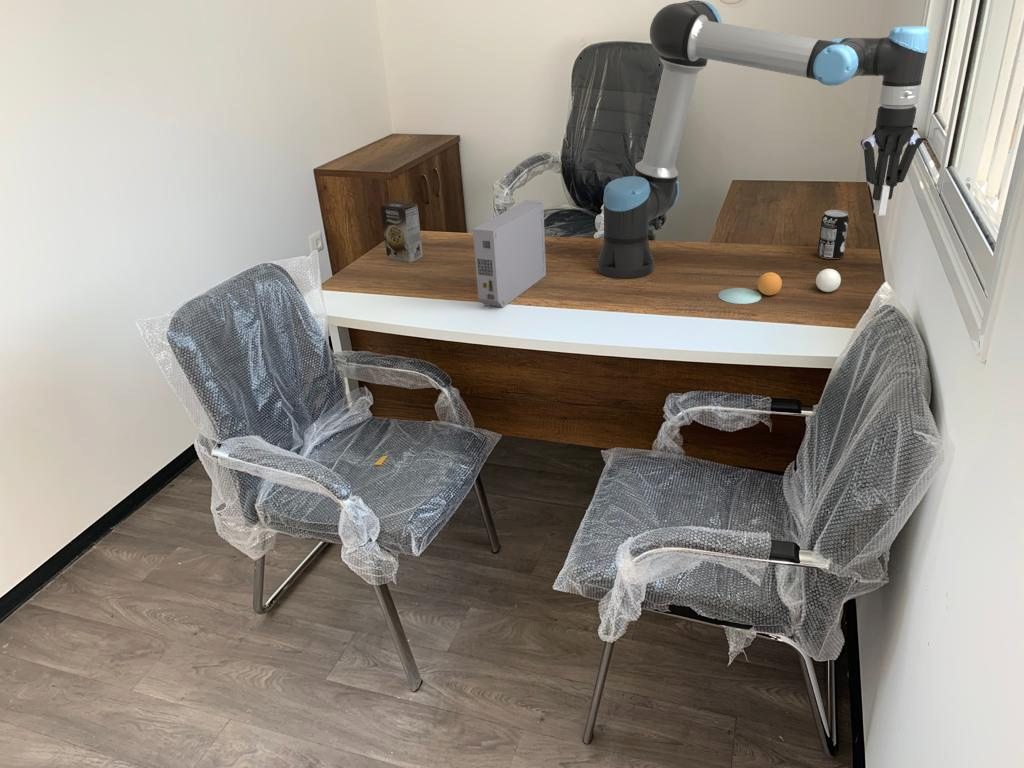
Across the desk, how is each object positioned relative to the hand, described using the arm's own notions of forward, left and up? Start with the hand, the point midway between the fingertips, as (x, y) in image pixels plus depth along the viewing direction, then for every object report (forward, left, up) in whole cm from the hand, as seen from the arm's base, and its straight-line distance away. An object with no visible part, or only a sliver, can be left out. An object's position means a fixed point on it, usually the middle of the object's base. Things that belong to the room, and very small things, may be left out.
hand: (879, 213), depth 174 cm
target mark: (-31, 0, -18) cm, 36 cm away
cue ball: (-10, 0, -16) cm, 18 cm away
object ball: (-24, 0, -16) cm, 28 cm away
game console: (-85, +13, -19) cm, 87 cm away
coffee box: (-117, +45, -19) cm, 126 cm away
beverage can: (0, +24, -19) cm, 30 cm away
